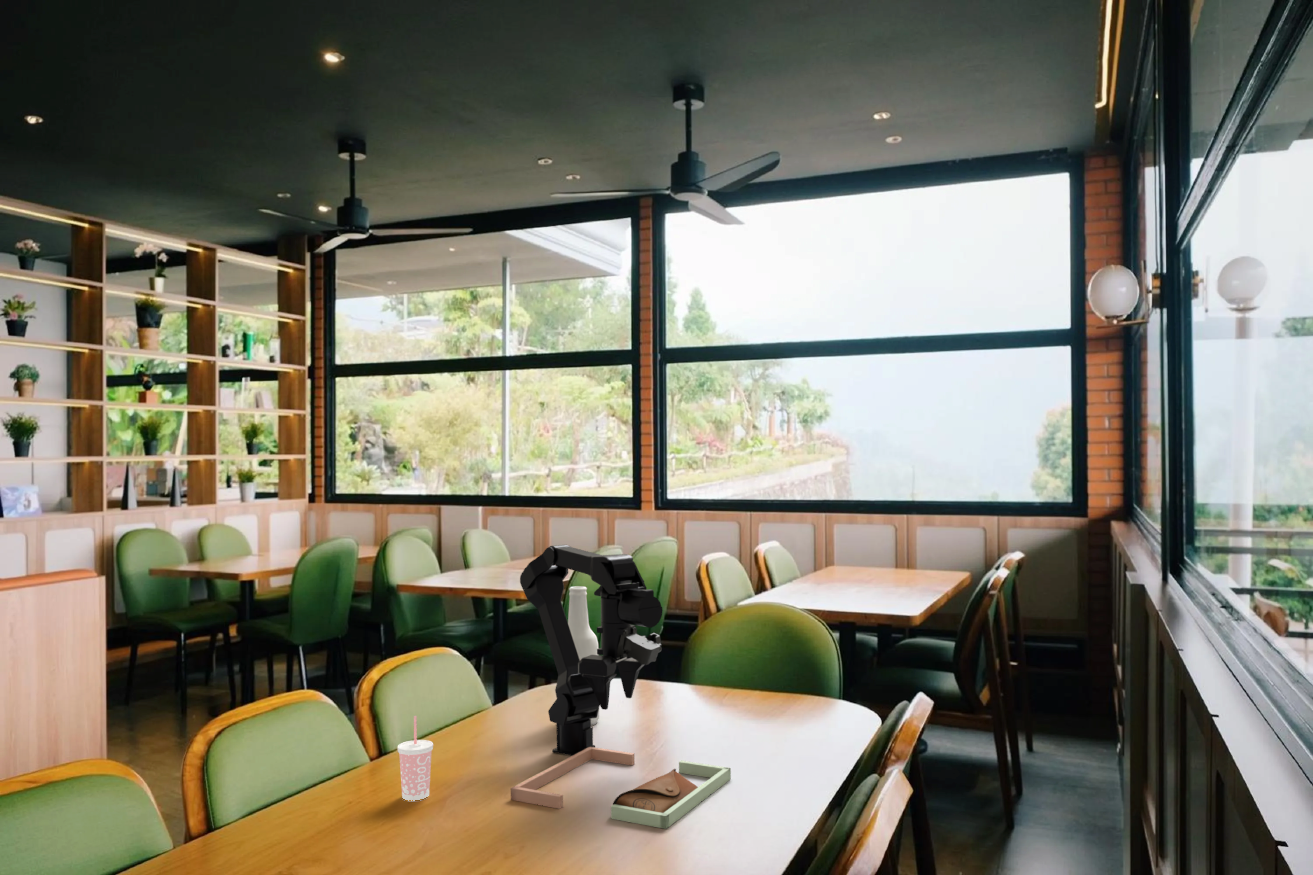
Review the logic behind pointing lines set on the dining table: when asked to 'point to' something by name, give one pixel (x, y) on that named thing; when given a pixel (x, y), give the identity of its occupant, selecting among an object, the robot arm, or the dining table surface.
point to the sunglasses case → (657, 793)
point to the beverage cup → (415, 767)
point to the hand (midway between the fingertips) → (617, 703)
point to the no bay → (528, 787)
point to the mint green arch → (674, 813)
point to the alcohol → (581, 626)
